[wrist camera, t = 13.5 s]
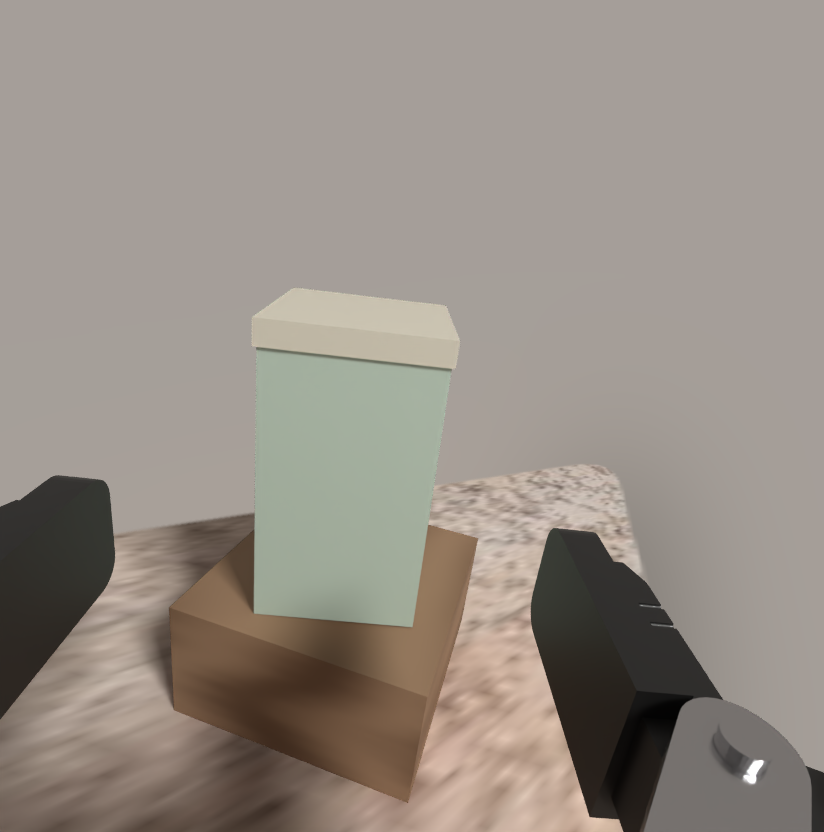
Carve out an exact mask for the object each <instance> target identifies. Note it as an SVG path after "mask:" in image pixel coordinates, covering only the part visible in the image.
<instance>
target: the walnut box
mask: <svg viewBox="0 0 824 832" xmlns="http://www.w3.org/2000/svg"><path fill="white" fill-rule="evenodd" d="M254 541H255V529H254V530H253V531H252V532H251V533H250V534H249V535H248V536H247V537H246V538H244V539H243V540H242V541H241V542H240V543H239V544H238V545H237V546H236V547H235V548H234V549H232V550H231V551H230V552H229V553H228V554H227V555H226V556H225V557H224V558H223V559H222V560H220V561H219V562H218V563H217V564H216V565H215V566H214V567H213V568H212V569H211V570H210V571H208V572H207V573H206V574H205V575H204V576H203V577H202V578H201V579H200V580H199V581H198V582H196V583H195V584H194V585H193V586H192V587H191V588H190V589H189V590H188V591H187V592H186V593H184V594H183V595H182V596H181V597H180V598H179V599H178V600H177V601H176V602H175V603H174V604H172V605H171V606H170V607H169V615H170V635H171V656H172V677H173V698H174V710H175V711H178V712H180V713H183V714H185V715H188V716H190V717H193V718H195V719H198V720H200V721H203V722H206V723H208V724H211V725H213V726H216V727H218V728H221V729H223V730H226V731H228V732H231V733H233V734H236V735H238V736H241V737H243V738H246V739H248V740H251V741H253V742H256V743H258V744H261V745H263V746H266V747H268V748H271V749H274V750H276V751H279V752H281V753H284V754H286V755H289V756H291V757H294V758H296V759H299V760H301V761H304V762H306V763H309V764H311V765H314V766H316V767H319V768H321V769H324V770H326V771H329V772H331V773H334V774H336V775H339V776H342V777H344V778H347V779H349V780H352V781H354V782H357V783H359V784H362V785H364V786H367V787H369V788H372V789H374V790H377V791H379V792H382V793H384V794H387V795H389V796H392V797H394V798H397V799H399V800H402V801H405V802H407V803H408V800H409V797H410V794H411V790H412V787H413V783H414V780H415V776H416V773H417V770H418V766H419V763H420V759H421V756H422V753H423V749H424V746H425V742H426V739H427V736H428V732H429V729H430V725H431V722H432V719H433V715H434V712H435V708H436V705H437V702H438V698H439V695H440V691H441V688H442V685H443V681H444V678H445V674H446V671H447V668H448V664H449V661H450V657H451V654H452V651H453V647H454V644H455V640H456V637H457V634H458V630H459V627H460V623H461V620H462V615H463V610H464V605H465V600H466V595H467V590H468V585H469V580H470V575H471V570H472V566H473V561H474V556H475V551H476V546H477V541H478V538H475V537H471V536H467V535H464V534H460V533H456V532H453V531H449V530H445V529H442V528H438V527H434V526H431V525H428V529H427V535H426V542H425V548H424V555H423V562H422V568H421V575H420V581H419V588H418V594H417V601H416V608H415V614H414V621H413V627H404V626H392V625H380V624H369V623H357V622H345V621H333V620H322V619H310V618H298V617H287V616H275V615H263V614H254Z"/></svg>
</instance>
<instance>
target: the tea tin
mask: <svg viewBox="0 0 824 832" xmlns="http://www.w3.org/2000/svg"><path fill="white" fill-rule="evenodd" d="M459 345H460V339H459V337H458V335H457V332H456V330H455V327H454V325H453V322H452V320H451V317H450V315H449V312H448V310H447V307H446V305H437V304H429V303H420V302H411V301H404V300H394V299H386V298H378V297H370V296H361V295H352V294H344V293H336V292H327V291H318V290H310V289H302V288H293V289H291V290H290V291H288V292H287V293H286V294H284V295H283V296H281V297H280V298H278V299H277V300H276V301H274V302H273V303H271V304H270V305H268V306H267V307H266V308H264V309H263V310H261V311H260V312H259V313H257V314H256V315H254V316H253V317H252V346H253V347H256V351H257V352H256V444H255V446H256V447H255V448H256V449H255V453H256V454H255V541H254V614H263V615H275V616H287V617H298V618H310V619H322V620H333V621H345V622H357V623H369V624H380V625H392V626H404V627H413V621H414V614H415V608H416V601H417V594H418V588H419V581H420V575H421V568H422V562H423V555H424V548H425V542H426V535H427V529H428V522H429V515H430V509H431V502H432V496H433V489H434V481H435V476H436V469H437V463H438V456H439V450H440V443H441V436H442V430H443V423H444V416H445V409H446V403H447V397H448V390H449V384H450V377H451V370H452V369H456V364H457V358H458V352H459Z"/></svg>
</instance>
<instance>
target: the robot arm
mask: <svg viewBox="0 0 824 832" xmlns="http://www.w3.org/2000/svg"><path fill="white" fill-rule="evenodd" d="M114 562H115V548H114V536H113V525H112V514H111V503H110V493H109V488H108V486H107V484H106V483H105V482H104V481H103V480H98V479H97V480H96V479H88V478H79V477H68V476H59V475H58V476H53V477H51V478H49V479H48V480H47V481H45V482H44V483H42V484H41V485H40V486H38V487H37V488H36V489H34V490H33V491H32V492H30V493H29V494H28V495H26V496H25V497H24V498H22V499H21V500H15V501H13V502H11V503H8V504H6V505H3V506H1V507H0V719H1V718H2V716H3V715H4V714H5V713H6V711H7V710H8V709H9V708H10V706H11V705H12V704H13V703H14V702H15V700H16V699H17V698H18V697H19V695H20V694H21V693H22V692H23V690H24V689H25V688H26V687H27V685H28V684H29V683H30V682H31V680H32V679H33V678H34V677H35V675H36V674H37V673H38V672H39V670H40V669H41V668H42V667H43V665H44V664H45V663H46V662H47V660H48V659H49V658H50V657H51V655H52V654H53V653H54V652H55V650H56V649H57V648H58V647H59V645H60V644H61V643H62V642H63V641H64V639H65V638H66V637H67V636H68V634H69V633H70V632H71V631H72V629H73V628H74V627H75V626H76V624H77V623H78V622H79V621H80V619H81V618H82V617H83V616H84V614H85V613H86V612H87V611H88V609H89V608H90V607H91V606H92V604H93V603H94V602H95V601H96V599H97V598H98V597H99V596H100V594H101V593H102V592H103V591H104V589H105V588H106V586H107V584H108V582H109V580H110V577H111V575H112V571H113V568H114ZM531 623H532V629H533V633H534V637H535V640H536V643H537V646H538V650H539V653H540V656H541V659H542V663H543V666H544V669H545V672H546V676H547V679H548V682H549V686H550V689H551V692H552V695H553V699H554V702H555V705H556V708H557V712H558V715H559V718H560V721H561V725H562V728H563V731H564V735H565V738H566V741H567V744H568V748H569V751H570V754H571V757H572V761H573V764H574V767H575V770H576V774H577V777H578V780H579V784H580V787H581V790H582V793H583V797H584V800H585V803H586V806H587V810H588V813H589V816H590V817H595V818H609V819H619V820H620V823H621V826H622V829H623V832H824V773H823V772H821V771H818V770H815V769H812V768H810V767H807V766H805V764H804V762H803V760H802V759H801V757H800V756H799V754H798V753H797V751H796V750H795V749H794V748H793V746H792V745H791V744H790V743H789V742H788V741H787V739H785V738H784V737H783V736H782V735H781V734H780V733H779V732H778V731H777V730H776V729H775V728H773V727H772V726H771V725H770V724H768V723H767V722H766V721H764V720H763V719H762V718H760V717H759V716H757V715H755V714H753V713H752V712H750V711H749V710H747V709H744V708H743V707H740V706H738V705H736V704H733V703H731V702H728V701H725V700H723V699H722V697H721V696H720V694H719V693H718V691H717V690H716V688H715V687H714V685H713V684H712V682H711V681H710V679H709V678H708V676H707V674H706V673H705V671H704V670H703V668H702V667H701V665H700V664H699V662H698V661H697V659H696V658H695V656H694V655H693V653H692V651H691V650H690V649H689V647H688V645H687V644H686V642H685V641H684V639H683V638H682V636H681V635H680V633H679V632H678V630H677V629H674V628H673V623H672V621H671V619H670V618H669V616H668V615H667V613H666V612H665V610H663V609H661V604H660V603H659V601H658V600H657V598H656V597H655V595H654V593H653V592H652V590H651V589H650V587H649V586H648V584H647V583H646V582H645V581H644V580H643V579H642V578H640V577H639V576H638V575H637V574H636V573H634V572H633V571H632V570H631V569H630V568H629V567H627V566H626V565H625V564H624V563H621V562H613V560H612V558H611V557H610V555H609V553H608V552H607V550H606V548H605V547H604V545H603V543H602V542H601V540H600V538H599V537H598V535H597V534H596V533H594V532H587V531H578V530H568V529H558V528H553V529H552V530H551V531H550V533H549V535H548V537H547V541H546V545H545V548H544V552H543V556H542V560H541V564H540V568H539V572H538V576H537V580H536V584H535V587H534V591H533V596H532V602H531Z"/></svg>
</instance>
